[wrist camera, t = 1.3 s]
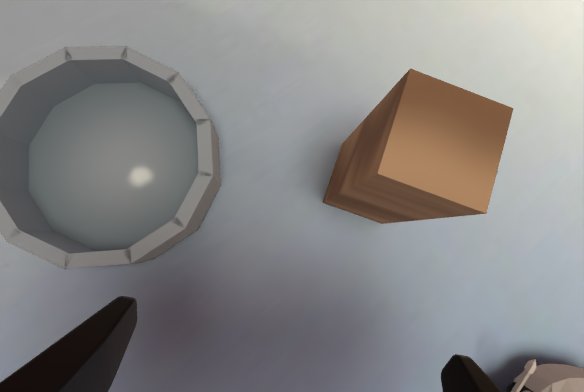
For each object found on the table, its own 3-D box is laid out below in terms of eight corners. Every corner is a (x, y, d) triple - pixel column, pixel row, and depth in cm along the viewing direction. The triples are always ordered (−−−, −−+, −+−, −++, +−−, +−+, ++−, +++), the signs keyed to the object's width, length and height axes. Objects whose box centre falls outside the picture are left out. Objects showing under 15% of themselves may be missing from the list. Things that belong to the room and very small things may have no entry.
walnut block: (381, 223, 24) (486, 213, 13) (322, 202, 23) (377, 173, 12) (399, 165, 24) (513, 108, 13) (342, 144, 24) (410, 68, 13)
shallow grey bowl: (255, 192, 23) (254, 183, 19) (89, 300, 21) (52, 315, 17) (156, 45, 23) (136, 9, 20) (-14, 139, 22) (-72, 118, 18)
